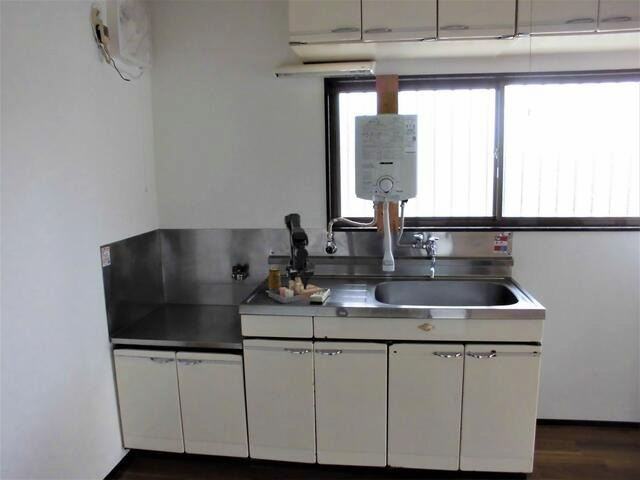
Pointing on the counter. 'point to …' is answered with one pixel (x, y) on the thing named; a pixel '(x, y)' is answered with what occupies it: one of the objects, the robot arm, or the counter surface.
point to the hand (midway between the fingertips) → (300, 287)
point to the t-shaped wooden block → (296, 285)
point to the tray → (281, 299)
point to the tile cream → (288, 293)
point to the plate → (308, 291)
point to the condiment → (274, 279)
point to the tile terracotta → (282, 291)
